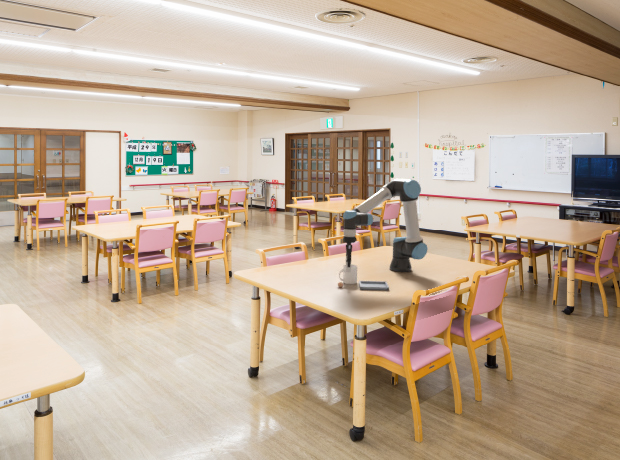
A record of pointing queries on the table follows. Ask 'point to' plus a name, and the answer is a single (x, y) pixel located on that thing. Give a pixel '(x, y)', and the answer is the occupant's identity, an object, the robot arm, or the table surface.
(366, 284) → the tray
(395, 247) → the robot arm
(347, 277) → the mug
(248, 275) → the table surface
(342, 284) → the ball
